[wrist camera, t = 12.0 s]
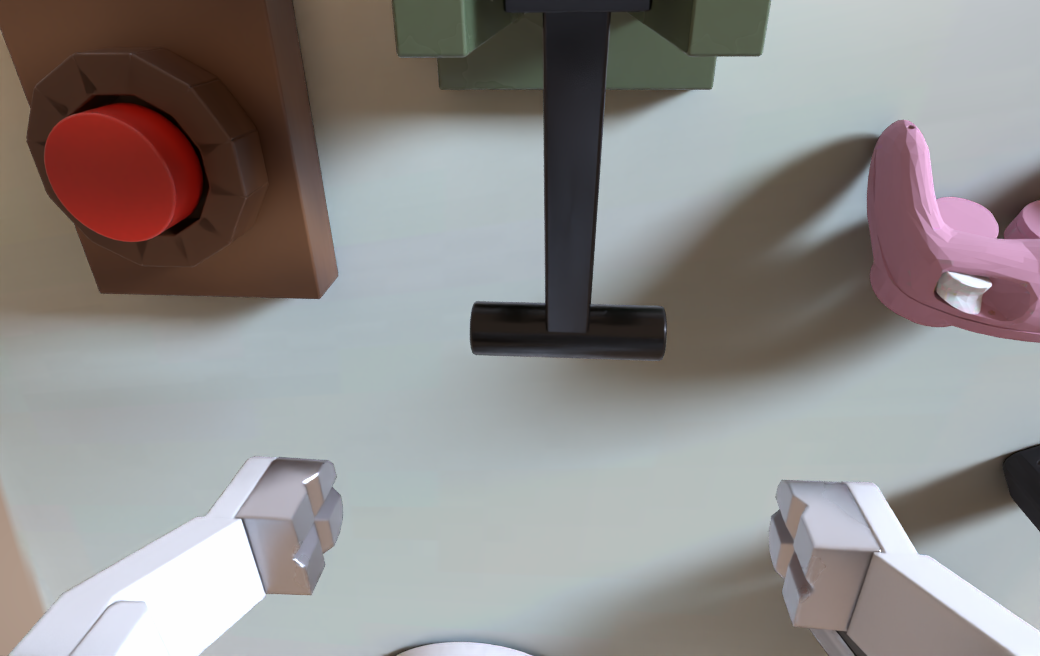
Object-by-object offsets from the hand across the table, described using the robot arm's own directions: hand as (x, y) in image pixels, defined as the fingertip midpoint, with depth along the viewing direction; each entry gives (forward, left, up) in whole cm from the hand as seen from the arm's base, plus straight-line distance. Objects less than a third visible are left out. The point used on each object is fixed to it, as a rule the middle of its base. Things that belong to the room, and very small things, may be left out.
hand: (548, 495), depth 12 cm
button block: (+3, +14, -15) cm, 20 cm away
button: (+3, +14, -11) cm, 18 cm away
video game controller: (+1, -15, -15) cm, 21 cm away
